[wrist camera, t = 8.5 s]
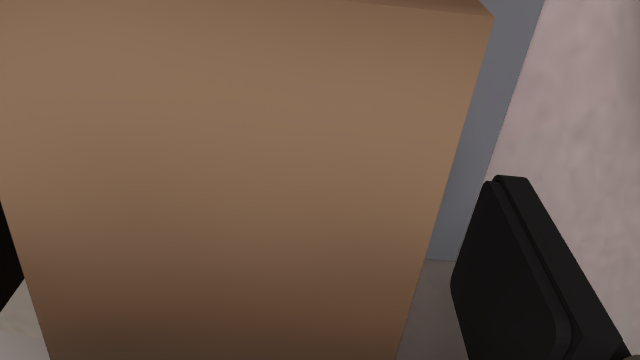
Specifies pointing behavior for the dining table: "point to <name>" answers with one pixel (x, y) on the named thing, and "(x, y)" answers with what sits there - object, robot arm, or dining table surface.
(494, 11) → the mat
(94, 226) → the footstool
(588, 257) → the dining table surface
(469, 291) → the robot arm
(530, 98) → the dining table surface
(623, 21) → the dining table surface
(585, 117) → the dining table surface
